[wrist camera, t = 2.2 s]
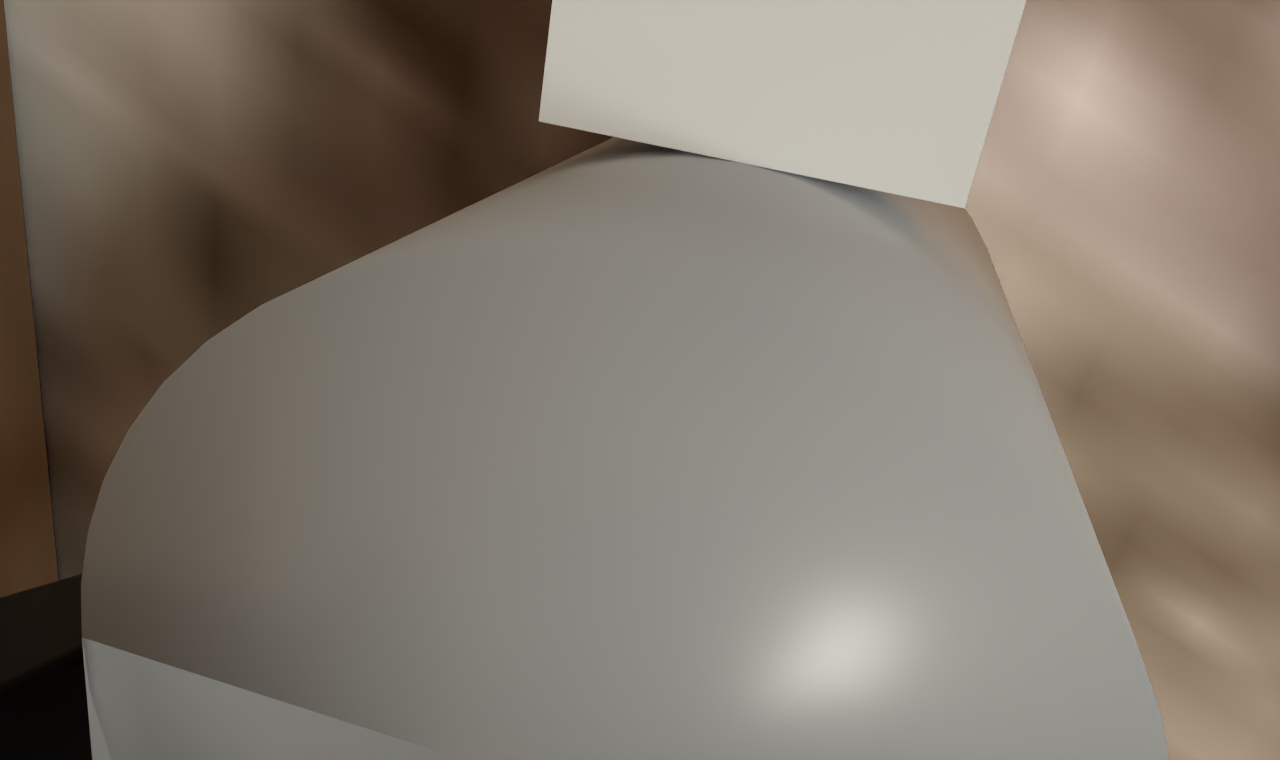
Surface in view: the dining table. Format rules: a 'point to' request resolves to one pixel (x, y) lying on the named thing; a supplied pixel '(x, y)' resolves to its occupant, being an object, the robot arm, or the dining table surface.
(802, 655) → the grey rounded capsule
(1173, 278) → the dining table surface
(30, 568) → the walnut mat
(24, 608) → the robot arm
